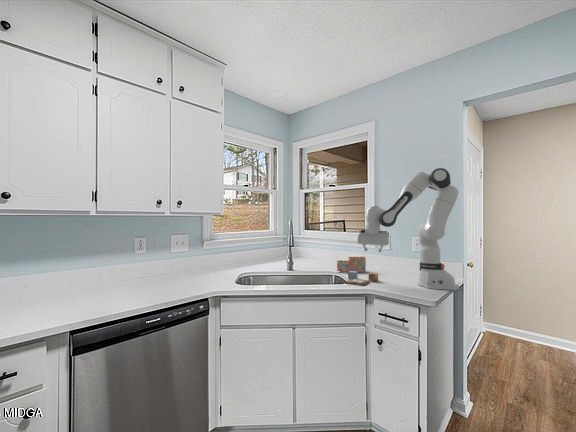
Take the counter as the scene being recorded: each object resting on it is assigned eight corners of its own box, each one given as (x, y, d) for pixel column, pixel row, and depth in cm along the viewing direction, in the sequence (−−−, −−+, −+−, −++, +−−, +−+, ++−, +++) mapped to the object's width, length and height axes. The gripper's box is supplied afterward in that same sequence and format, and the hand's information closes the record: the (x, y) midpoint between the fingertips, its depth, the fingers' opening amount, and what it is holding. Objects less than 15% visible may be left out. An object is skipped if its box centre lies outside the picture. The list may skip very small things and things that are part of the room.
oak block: (378, 280, 198) (378, 273, 198) (376, 282, 194) (376, 274, 194) (370, 280, 201) (370, 272, 201) (368, 281, 196) (368, 273, 196)
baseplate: (369, 282, 193) (369, 280, 193) (364, 285, 184) (364, 283, 184) (351, 280, 199) (351, 278, 199) (345, 283, 190) (345, 281, 190)
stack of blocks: (337, 272, 230) (337, 256, 230) (336, 270, 236) (336, 255, 236) (365, 272, 228) (365, 256, 228) (364, 271, 234) (364, 255, 234)
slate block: (357, 278, 205) (357, 271, 205) (355, 280, 201) (355, 272, 201) (350, 277, 208) (350, 270, 208) (348, 279, 204) (348, 271, 204)
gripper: (390, 230, 195) (390, 251, 195) (359, 230, 205) (359, 250, 205) (388, 231, 189) (387, 252, 189) (356, 230, 200) (356, 250, 200)
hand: (372, 251), depth 197 cm, fingers open, 8 cm apart
